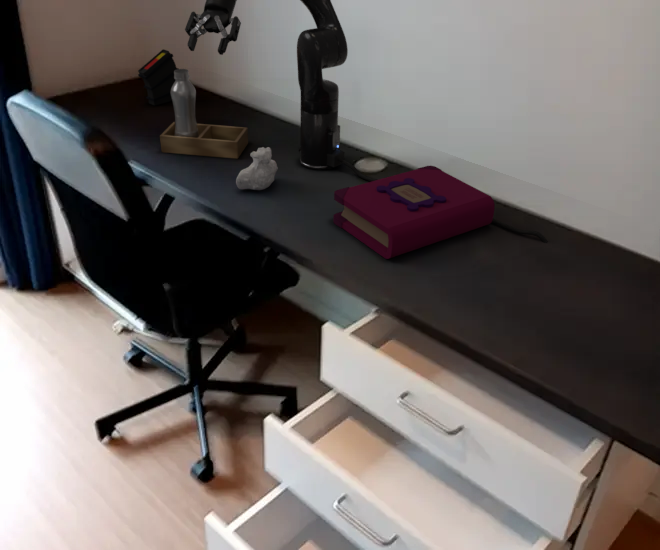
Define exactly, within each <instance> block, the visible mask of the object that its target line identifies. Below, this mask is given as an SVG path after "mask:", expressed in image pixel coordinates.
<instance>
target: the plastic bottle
mask: <svg viewBox="0 0 660 550" xmlns="http://www.w3.org/2000/svg"><path fill="white" fill-rule="evenodd" d="M189 71H190V70H189V69H186V68H179V69H177V70H175V71H174V79H176V81H175V82H174V84H173V86H172V88H171V92H170V93H171V98H172V101H171V102H172V106H173V112H174V122H175V135H174V136H182V137H194V138H198V137H199V131H198V128H197V124H198V122H197V119H196V100H197V99H196V98H197V90H196V88H195V85H193V83H192V82H191V81H190V73H189Z"/></svg>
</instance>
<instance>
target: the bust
mask: <svg viewBox="0 0 660 550" xmlns="http://www.w3.org/2000/svg"><path fill="white" fill-rule="evenodd" d="M249 154H250V155H249V156H250V158H251V159H252V162H251V164H250V165H249V166H248V167H246V168H243V169H241V170H240V171H239V173H238V175H237V176H236V179H235V184H236V187H237V188H238V190H254V191H262V190H266V189H267V188H269V187H270V186H271V185H272V183H273V182H274V181H275V177H276V173H277V171H278V170H279V167H278V165H277V162H276V161H275V160H274V159H272V157H273V155H272V154H273V153H272V148H271V147H269V146H267V147H264V146H262V147H258V148H257V150H256V151H254V150H253V151H252V152H250V153H249Z"/></svg>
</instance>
